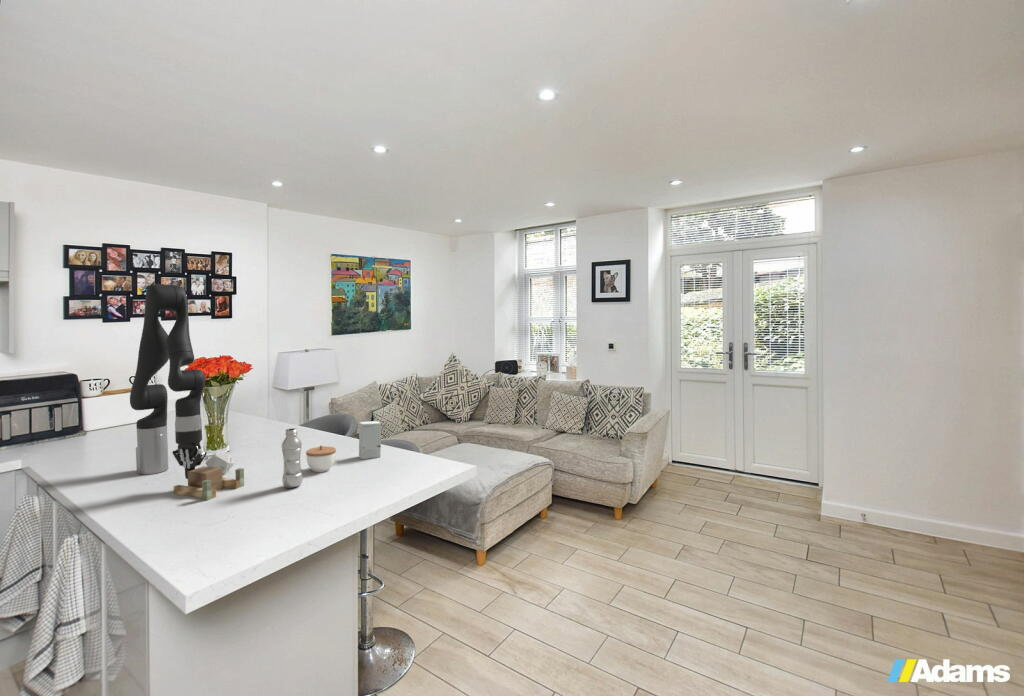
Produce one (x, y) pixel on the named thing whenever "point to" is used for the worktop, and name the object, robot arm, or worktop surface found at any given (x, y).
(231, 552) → the worktop surface
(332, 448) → the lidded jar
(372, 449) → the skincare box
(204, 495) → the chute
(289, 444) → the plastic bottle
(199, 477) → the block
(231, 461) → the die
